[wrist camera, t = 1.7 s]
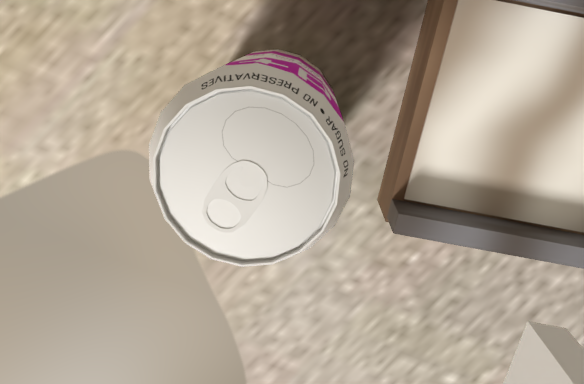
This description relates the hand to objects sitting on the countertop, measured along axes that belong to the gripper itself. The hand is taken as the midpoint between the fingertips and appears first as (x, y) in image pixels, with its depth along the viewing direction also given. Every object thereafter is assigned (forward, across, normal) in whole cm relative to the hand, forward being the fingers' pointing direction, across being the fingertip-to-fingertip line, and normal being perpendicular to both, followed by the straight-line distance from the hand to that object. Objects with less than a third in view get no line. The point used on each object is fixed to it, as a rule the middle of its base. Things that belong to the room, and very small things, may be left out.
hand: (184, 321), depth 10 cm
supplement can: (+24, 0, 0) cm, 24 cm away
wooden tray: (+24, -16, -3) cm, 29 cm away
